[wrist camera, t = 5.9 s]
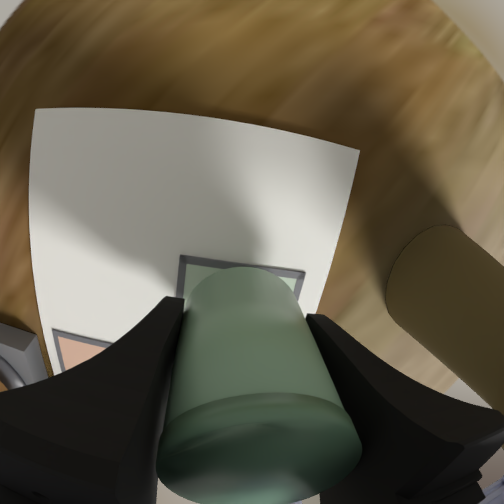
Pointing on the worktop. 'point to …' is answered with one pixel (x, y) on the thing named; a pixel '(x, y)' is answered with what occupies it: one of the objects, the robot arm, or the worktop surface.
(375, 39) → the worktop surface
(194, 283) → the picture card
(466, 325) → the olive brown cylinder
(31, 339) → the button pad
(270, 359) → the green cylinder
